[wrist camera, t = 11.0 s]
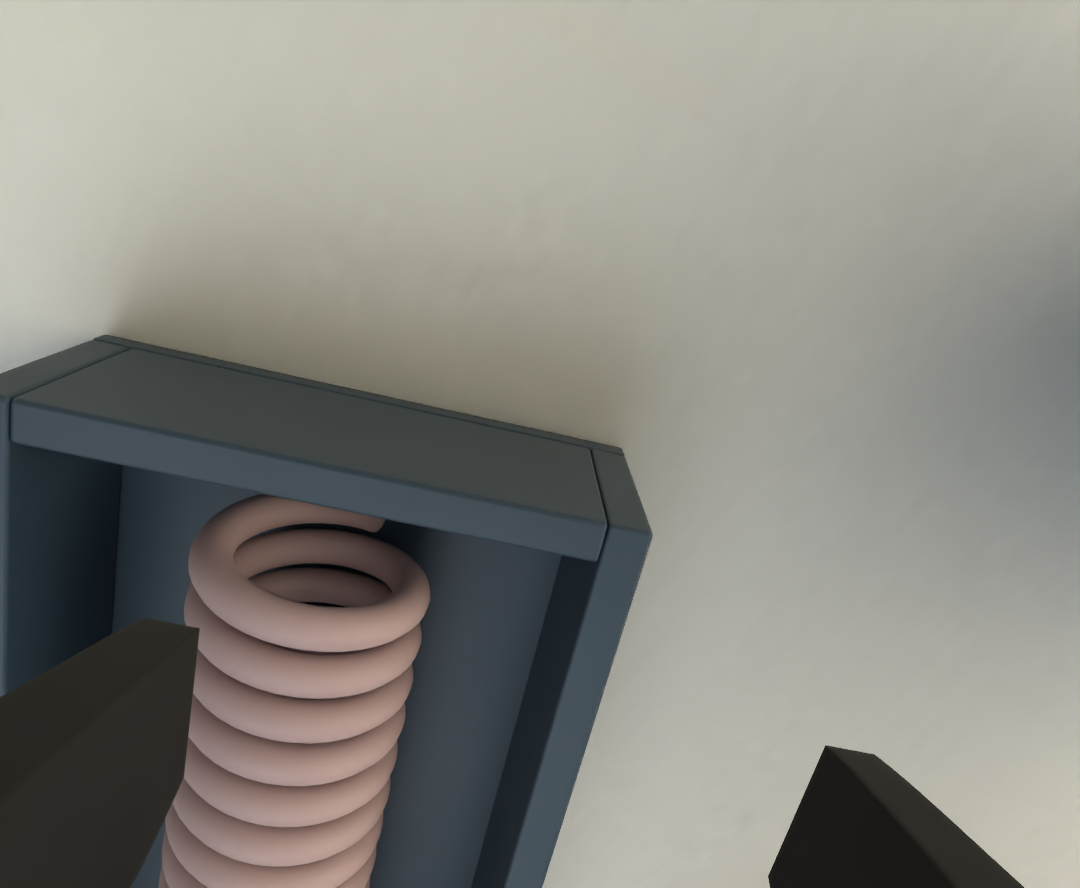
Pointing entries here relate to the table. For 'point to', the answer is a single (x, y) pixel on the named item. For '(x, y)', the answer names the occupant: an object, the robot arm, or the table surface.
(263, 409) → the bin
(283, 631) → the coil
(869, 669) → the table surface
